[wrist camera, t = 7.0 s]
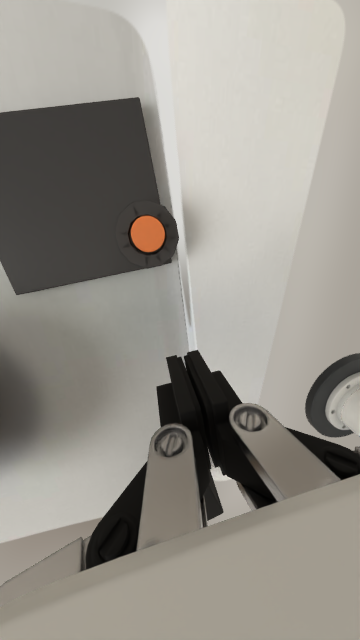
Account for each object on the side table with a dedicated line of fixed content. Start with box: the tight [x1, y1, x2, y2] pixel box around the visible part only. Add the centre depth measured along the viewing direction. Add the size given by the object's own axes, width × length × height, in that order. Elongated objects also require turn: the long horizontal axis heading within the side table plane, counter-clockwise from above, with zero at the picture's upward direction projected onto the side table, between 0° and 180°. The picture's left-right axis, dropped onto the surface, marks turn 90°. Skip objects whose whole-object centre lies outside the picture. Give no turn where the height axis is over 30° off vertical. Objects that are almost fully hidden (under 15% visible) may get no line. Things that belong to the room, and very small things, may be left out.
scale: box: [0, 97, 179, 295], centre depth 19 cm, size 17×14×3 cm
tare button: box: [131, 216, 165, 252], centre depth 19 cm, size 3×3×2 cm
